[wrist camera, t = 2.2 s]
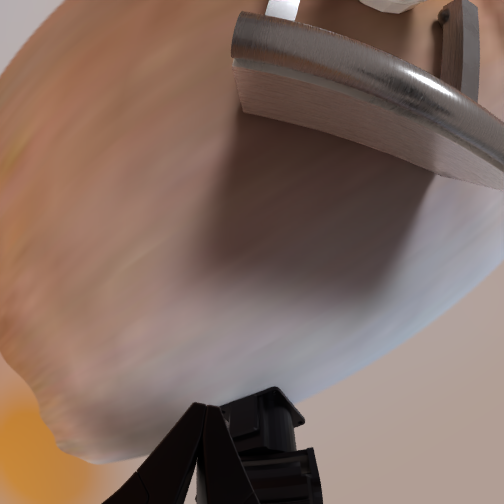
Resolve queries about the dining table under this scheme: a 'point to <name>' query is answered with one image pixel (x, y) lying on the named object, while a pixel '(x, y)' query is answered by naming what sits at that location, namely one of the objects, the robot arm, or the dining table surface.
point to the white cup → (392, 5)
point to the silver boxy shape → (373, 91)
